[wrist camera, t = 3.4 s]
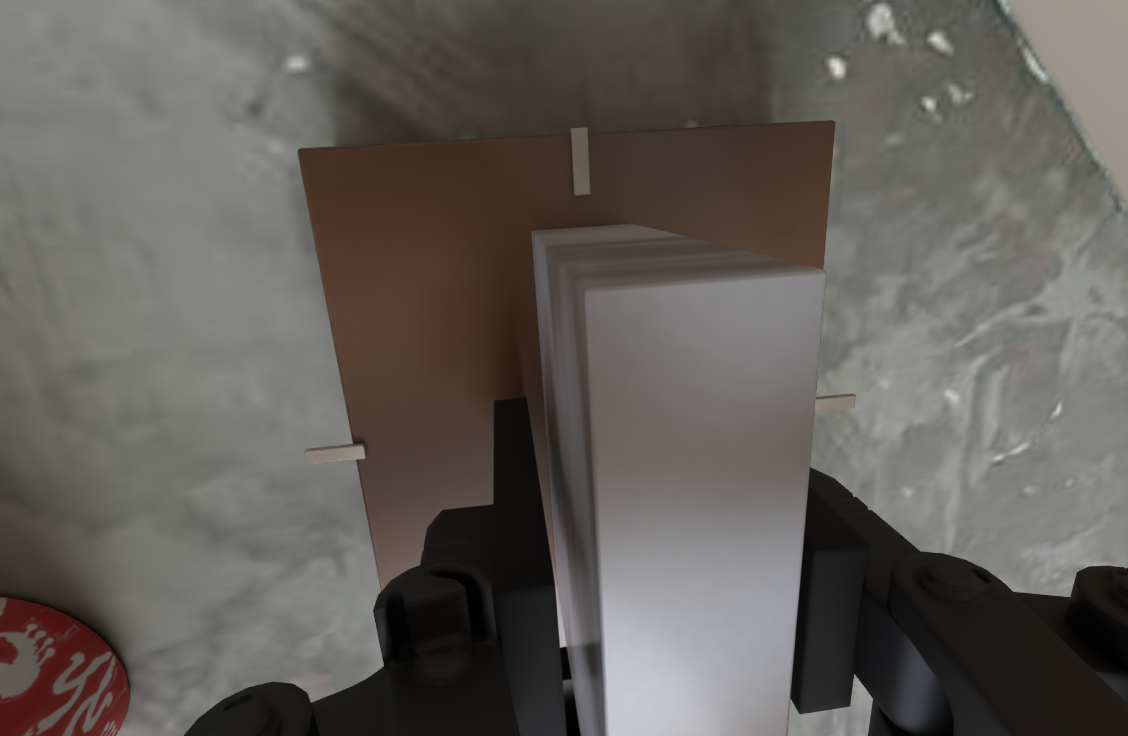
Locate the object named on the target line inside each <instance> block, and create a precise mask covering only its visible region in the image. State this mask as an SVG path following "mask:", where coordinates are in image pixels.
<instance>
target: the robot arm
mask: <svg viewBox="0 0 1128 736" xmlns="http://www.w3.org/2000/svg"><path fill="white" fill-rule="evenodd" d="M423 548H424V551H422V556H421V561H420V565H419V566H416V567H413V568H410V569H408V570H407V571H405V572H403V573H402V574H400V575H399V576H397V577H396V578H394V579H392V580H391V581H390V582H389V583H388V584H387V586H386V587H385V588H384V589H383V590H382V591H381V592H380V593H379V595H378V597H377V600H376V604H375V607H374V610H373V612H374V617H375V622H376V627H377V632H378V637H379V642H380V647H381V652H382V657H383V662H384V666H383V667H382V668H381V669H380V670H379V671H377V672H376V673H374V674H373V675H372V676H370V677H369V678H367V679H366V680H364V681H362V682H360V683H358V684H356V685H354V686H352V687H350V688H347V689H345V690H342V691H340V692H337V693H335V694H332V695H330V696H327V697H325V698H322V699H320V700H317V701H315V702H312V703H311V702H310V699H309V697H308V694H307V692H305V691H304V690H302V689H301V688H299V687H297V686H296V685H294V684H291V683H280V682H270V683H265V684H261V685H257V686H252V687H248V688H246V689H244V690H242V691H240V692H238V693H236V694H234V695H232V696H230V697H227V698H225V699H223V700H222V701H220V702H219V703H218V704H216V705H215V706H214V707H213V708H211V709H210V710H209V711H207V712H206V713H205V714H203V715H202V716H201V717H199V718H198V719H197V721H196V722H195V723H194V724H193V725H192V726H191V728H190V729H189V730H188V731H187V732H186V734H185V735H184V736H567V732H566V719H565V706H564V693H563V679H562V666H561V653H560V640H559V627H558V614H557V601H556V587H555V580H554V573H553V567H552V560H551V554H550V547H549V540H548V534H547V527H546V521H545V514H544V508H543V501H542V495H541V488H540V482H539V475H538V469H537V462H536V456H535V449H534V443H533V436H532V430H531V423H530V417H529V410H528V404H527V397H524V398H514V399H503V400H494V472H493V504H491V505H482V506H473V507H464V508H455V509H447V510H442V511H441V512H440V513H439V514H438V516H437V517H436V518H435V519H434V520H433V521H432V523H431V524H430V525H429V526H428V527H427V531H426V536H425V541H424V546H423ZM854 674H855V675H856V676H857V678H858V679H859V680H860V682H861V683H862V684H863V686H864V687H865V688H866V690H867V691H868V692H869V694H870V695H871V696H872V698H873V704H872V711H871V717H870V724H869V731H868V736H1128V568H1127V569H1126V568H1124V567H1114V566H1091V567H1087V568H1085V569H1083V570H1081V571H1079V572H1077V574H1076V578H1075V582H1074V585H1073V589H1072V593H1071V597H1061V596H1051V595H1040V594H1030V593H1019V592H1013V591H1012V590H1011V589H1010V588H1009V587H1008V586H1007V585H1006V584H1005V583H1003V582H1002V581H1001V580H999V579H998V578H997V577H995V576H994V575H993V574H991V573H990V572H989V571H987V570H986V569H984V568H982V567H979V566H977V565H975V564H973V563H971V562H969V561H967V560H964V559H960V558H957V557H953V556H950V555H946V554H942V553H931V552H920V551H919V550H918V549H917V548H916V547H915V546H913V545H912V544H911V543H910V542H909V541H908V540H906V539H905V538H904V537H903V536H902V535H900V534H899V533H898V532H897V531H896V530H895V529H893V528H892V527H891V526H890V525H889V524H887V523H886V522H885V521H884V520H883V519H882V518H880V517H879V516H878V515H877V514H876V513H874V512H873V511H872V510H868V507H867V506H866V505H865V504H864V503H863V502H861V501H860V500H859V499H858V498H857V497H853V495H852V493H851V492H850V491H848V490H847V489H846V488H845V487H844V486H843V485H841V484H840V483H839V482H838V481H837V480H836V479H834V478H832V477H830V476H828V475H826V474H824V473H821V472H819V471H817V470H815V469H813V468H811V467H810V471H809V483H808V494H807V506H806V518H805V530H804V542H803V553H802V565H801V577H800V589H799V601H798V612H797V624H796V636H795V648H794V660H793V671H792V683H791V695H790V698H791V700H792V702H793V704H794V705H795V707H796V709H797V710H798V712H799V714H805V713H811V712H817V711H824V710H830V709H837V708H843V707H849V706H850V702H851V694H852V686H853V679H854Z"/></svg>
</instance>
